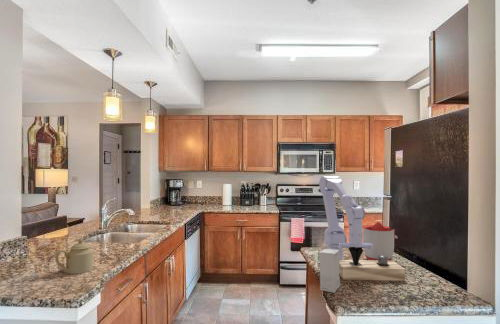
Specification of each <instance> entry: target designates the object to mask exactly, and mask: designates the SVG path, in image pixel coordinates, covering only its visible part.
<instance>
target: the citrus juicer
mask: <svg viewBox="0 0 500 324" xmlns="http://www.w3.org/2000/svg"><path fill="white" fill-rule="evenodd" d="M398 238H399V237H398V236H397V235H396V230H395V228H394V229H391V227H390V226H387V225H386V226H385V225H383V224H382V223H381V222H380V221H377V222H376V223H374V224H371V225H370V224H368V225H362V243H371V244H373V249H370V248H363V252H364V256H365V260H378V255H384V256H387V257H388V261H392V259H393V256H394V250H395V239H398Z"/></svg>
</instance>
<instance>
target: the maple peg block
mask: <svg viewBox="0 0 500 324" xmlns="http://www.w3.org/2000/svg"><path fill="white" fill-rule="evenodd" d="M351 263H353V259H343V260H339V268H340V277H341V278H342V280H343V281H395V282H396V281H399V282H403V281H404V282H405V281H406V268H405V267H403V266H401V265H400V264H398V263H397V262H396V261H394V260H391V261H388V266H379V265H378V260H367V259H365V260H363V259H362V260H361V259H359V262H358V264H360V266H352V265H351Z"/></svg>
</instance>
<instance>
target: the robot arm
mask: <svg viewBox="0 0 500 324" xmlns="http://www.w3.org/2000/svg"><path fill="white" fill-rule="evenodd" d="M318 186H319V190H320V191H319V192H320V193H321V194H322V199H323V204H324V210H325V216H326V220H327V221H326V222H327V228H325V230H324V231H323V232H324V233H323V235H324V236H323V237H324V238H323V240H324V244H325V245H326V246H327V248H326V249H334V250H339V260H344V249H348V251H349V253H350V255H351V258H352V259H351V260H353V264H354V265H358V262H359V260H360V258H361V255H362V254H363V252H364V248H370V249H373V244H371V243H363V228H362V227H363V220H364V218H365V216H366V212H365V211H366V210H365V209H364V207H363V206H361V205H359V204H357V202H356V201H355V200H354V198H353V197H352V195H350V194H348V193H347V192H346V190H345V188H344V186H343V180H342V179H341V177H340V176H339V175H336V176H335V175H333V176H332V175H331V176H330V175H329V176H327V175H322V176H321V177H320V178H319V181H318ZM335 194H337V196H338V197H339V198H340V204H341V205H342V207H343V208H344V210H345V215H346V219H347V223H348V237H347V235H346V232H345V229H344V228H343V227H341V226H340V224H339V220H338V214H337V209H336V204H335V199H334V198H335V197H334V195H335ZM347 241H348V242H347Z"/></svg>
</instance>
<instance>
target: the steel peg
mask: <svg viewBox="0 0 500 324" xmlns="http://www.w3.org/2000/svg"><path fill="white" fill-rule="evenodd" d="M378 265H379V266H388V257H387V256H384V255H378Z"/></svg>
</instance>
